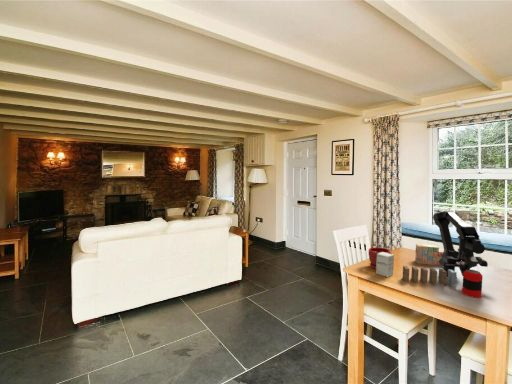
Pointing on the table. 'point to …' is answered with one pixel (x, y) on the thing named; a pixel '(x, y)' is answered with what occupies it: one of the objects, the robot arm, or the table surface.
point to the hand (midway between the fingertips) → (463, 276)
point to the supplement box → (385, 264)
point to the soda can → (472, 283)
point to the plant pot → (374, 255)
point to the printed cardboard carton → (428, 254)
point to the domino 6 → (452, 277)
